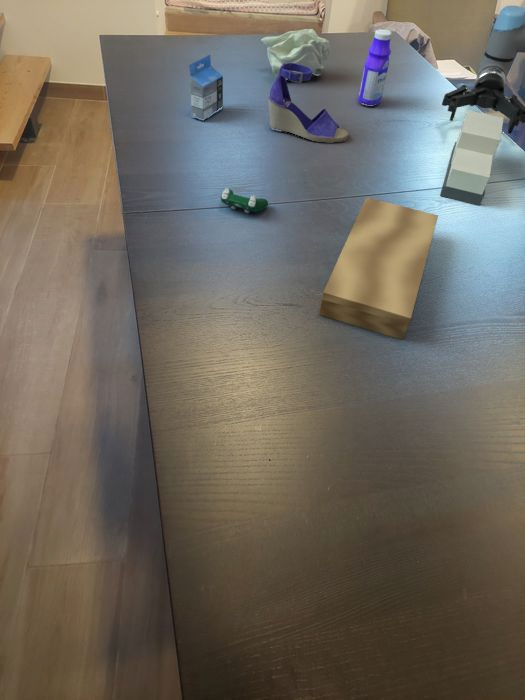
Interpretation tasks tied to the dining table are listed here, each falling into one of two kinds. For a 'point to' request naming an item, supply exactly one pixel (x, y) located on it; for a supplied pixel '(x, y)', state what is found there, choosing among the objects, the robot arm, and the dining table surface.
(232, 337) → the dining table surface
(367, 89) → the bottle
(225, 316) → the dining table surface
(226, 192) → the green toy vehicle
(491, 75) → the robot arm
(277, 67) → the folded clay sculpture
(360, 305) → the wooden base slab
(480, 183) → the white two-tier block
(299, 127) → the sandal
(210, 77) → the ink cartridge box
